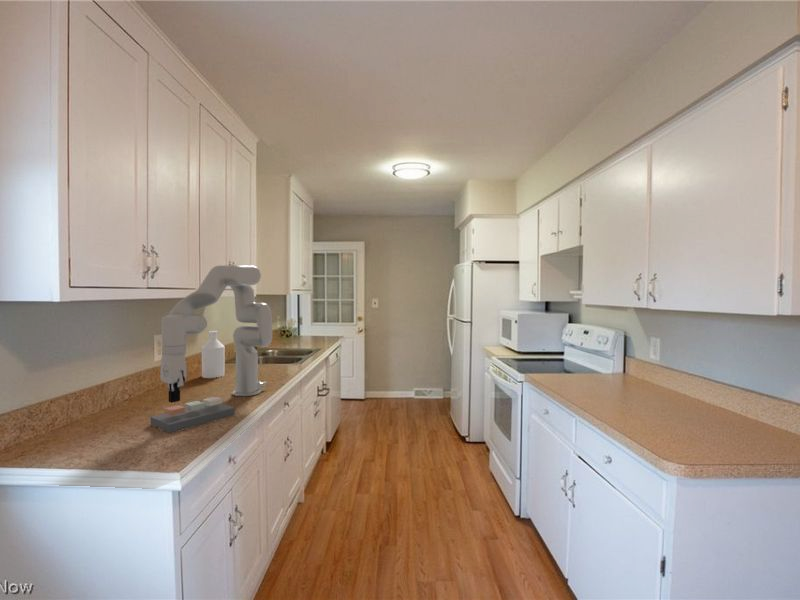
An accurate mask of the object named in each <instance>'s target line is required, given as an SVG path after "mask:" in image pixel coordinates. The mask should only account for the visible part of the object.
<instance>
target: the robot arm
mask: <svg viewBox="0 0 800 600" xmlns="http://www.w3.org/2000/svg"><path fill="white" fill-rule="evenodd" d="M261 275H262V272H261V270H260V269H259V267H257V266H255V265H235V264H234V265H232V264H231V265H229V264H228V265H227V264H226V265H222V264H221V265H215V266H213V267H212V268H211V269H210V271H209V272H208V274H206V276H205V277H204V279H203V280H202V282H201V283H200V285H199V286H198V288H197V290H195V291H193V292H191V293H189V294H188V295H186V296H185V297H184V298H182V299H180V300H179V301H178V302H176V304H175V305H174V306H173V308H172V309H171V310H170V312H169V313H168V315H165V316H163V317H162V318H161V360H160V376H159V378H160V381H161V382H164V383H165V385H167V390H168V402H169V403H177V402H180V401H181V390H182V387H184V383H185V382H187V375H188V374H187V360H186V354H187V335H197V334H201V333H203V332H204V331H205V330H206V328H207V326H208V321H207V319H206V317H205V316H204V315H202V314H199V313H193V312H196V311H197V310H200V309H203V308H206V307H210V306H212V305H214V304H215V303H217V302H218V301H219V299H220V298H221V295H222V294H223V292H224V291H225V289H226V288H227V287H228V286H229V287H230V288H231V290H232V291H233V294H234V295H233V296H234V305H235V306H234V308H235V309H234V310H235V317H236V320H237V321H238V322H239V323H241V324H257V325H241V326H240V325H239V326H238V327H236V328H235V330H234V331H233V334H232V336H233V338H232V339H233V344H234V349H235V389H234V390H233V391H232V392H231V393H232V396H234V395H235V396H234V397H250V396H256V395H259V394H261V393H262V389H261V388H262V387H266V386H267V381H262V382H261V381H259V380H258V379H259V377H258V376H259V375H258V373H259V372H258V371H259V370H258V369H259V368H258V365H259V364H258V360H259V359H258V355H259V354H258V352H257V350H256V348H257V347H262V348H263V347H264V348H265V347H268V346H270V345H271V344H272V341H273V320H272V317H273V316H272V315H273V314H272V309H271V308H270V306H269V304H267V303H265V302H256V299H255V291H254V288H253V287H252V286H255V285H257V284H258V283H259V282H260V281H261V278H262V277H261ZM255 347H256V348H255Z"/></svg>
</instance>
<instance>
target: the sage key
mask: <svg viewBox="0 0 800 600" xmlns="http://www.w3.org/2000/svg"><path fill="white" fill-rule="evenodd" d="M183 405H184V406H183V407H185V409H187V410H190V411H192V410H196V409H200V408H204V403H203V401H199V400H194V401H190V402H186V403H184V404H183Z"/></svg>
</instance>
